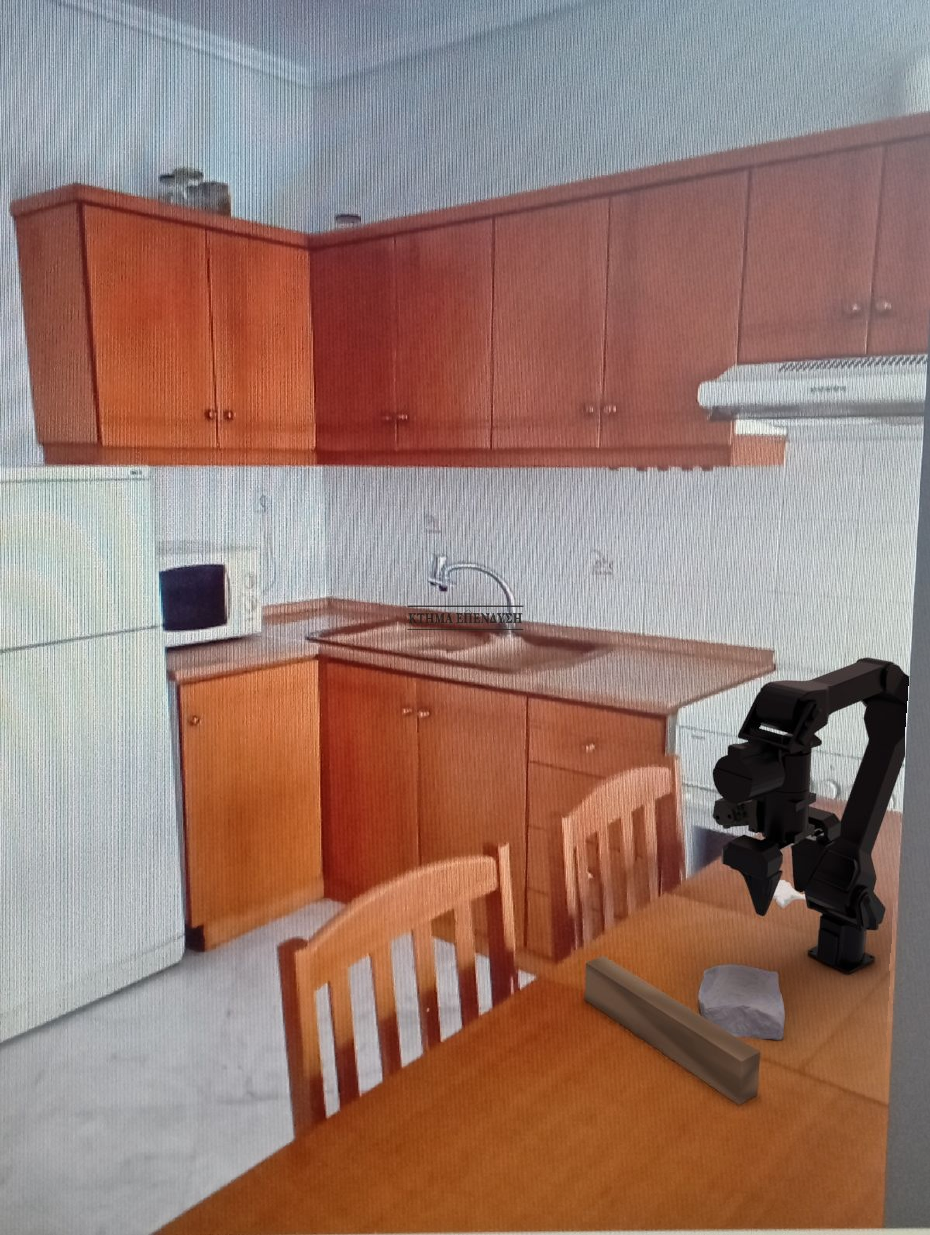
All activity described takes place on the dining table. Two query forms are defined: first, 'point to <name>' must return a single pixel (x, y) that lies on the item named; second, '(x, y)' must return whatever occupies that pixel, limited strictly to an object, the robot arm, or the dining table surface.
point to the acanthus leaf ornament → (786, 894)
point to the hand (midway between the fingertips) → (780, 902)
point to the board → (674, 1029)
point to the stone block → (743, 1001)
